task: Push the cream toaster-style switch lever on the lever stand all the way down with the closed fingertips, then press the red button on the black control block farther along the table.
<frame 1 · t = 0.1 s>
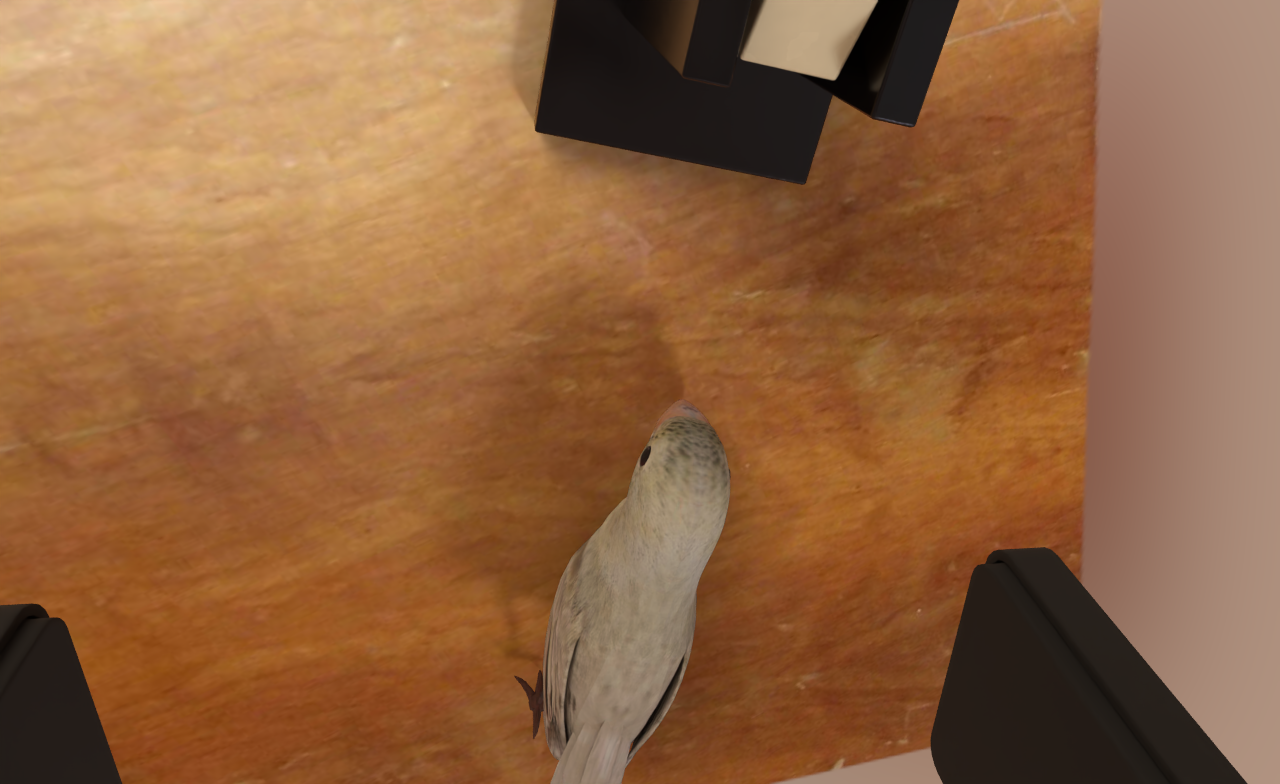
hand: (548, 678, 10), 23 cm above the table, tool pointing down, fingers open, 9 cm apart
decorative bird: (618, 551, 38), on the table
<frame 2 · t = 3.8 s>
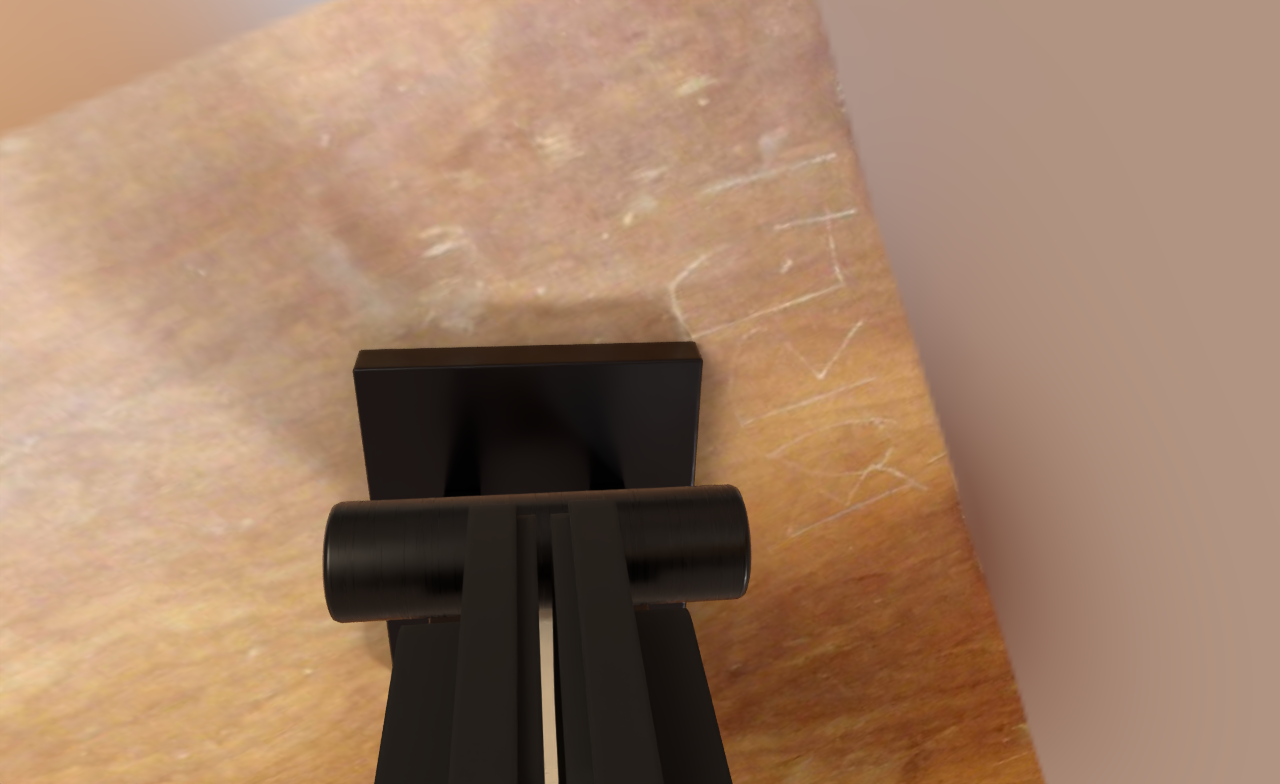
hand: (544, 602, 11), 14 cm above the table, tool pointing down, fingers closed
toaster lever: (545, 726, 15), point 12 cm above the table, hinge at 19.0°, touching gripper
lever stand: (536, 525, 27), on the table
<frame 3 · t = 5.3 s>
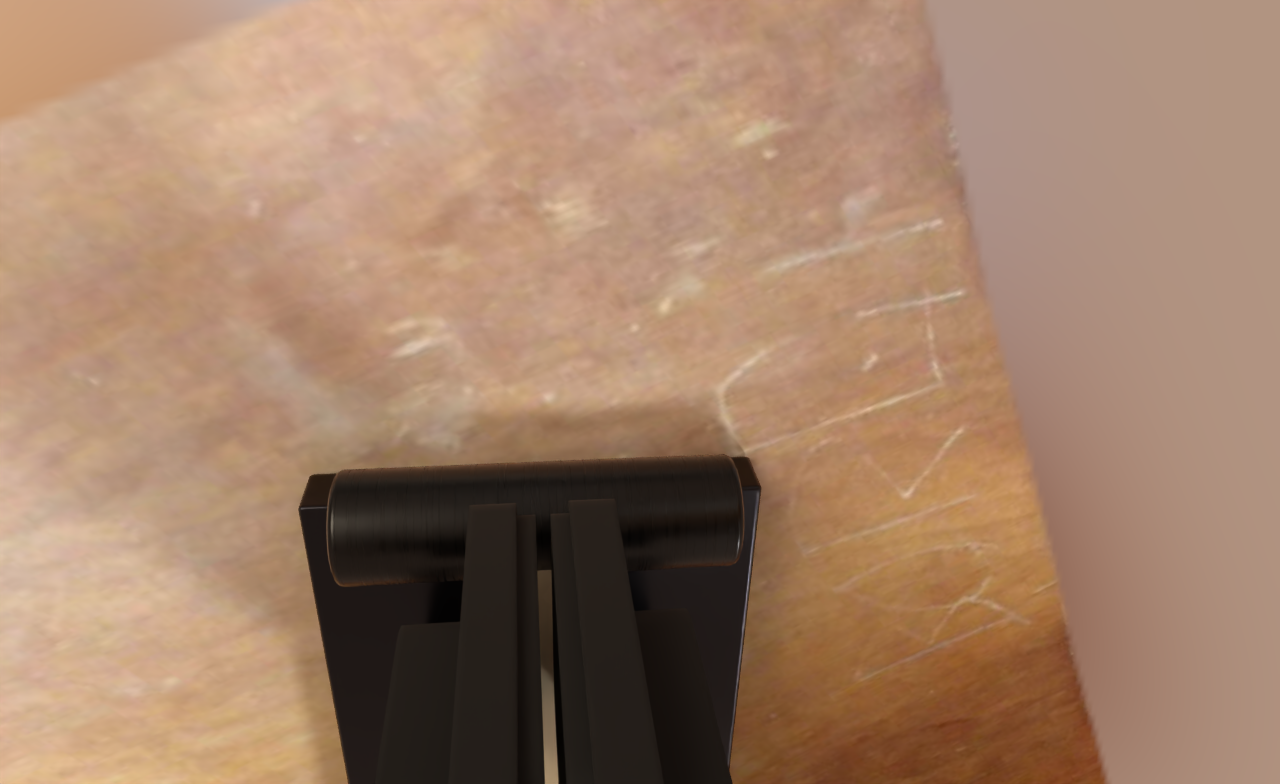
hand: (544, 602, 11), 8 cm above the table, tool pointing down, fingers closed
lever stand: (541, 675, 22), on the table
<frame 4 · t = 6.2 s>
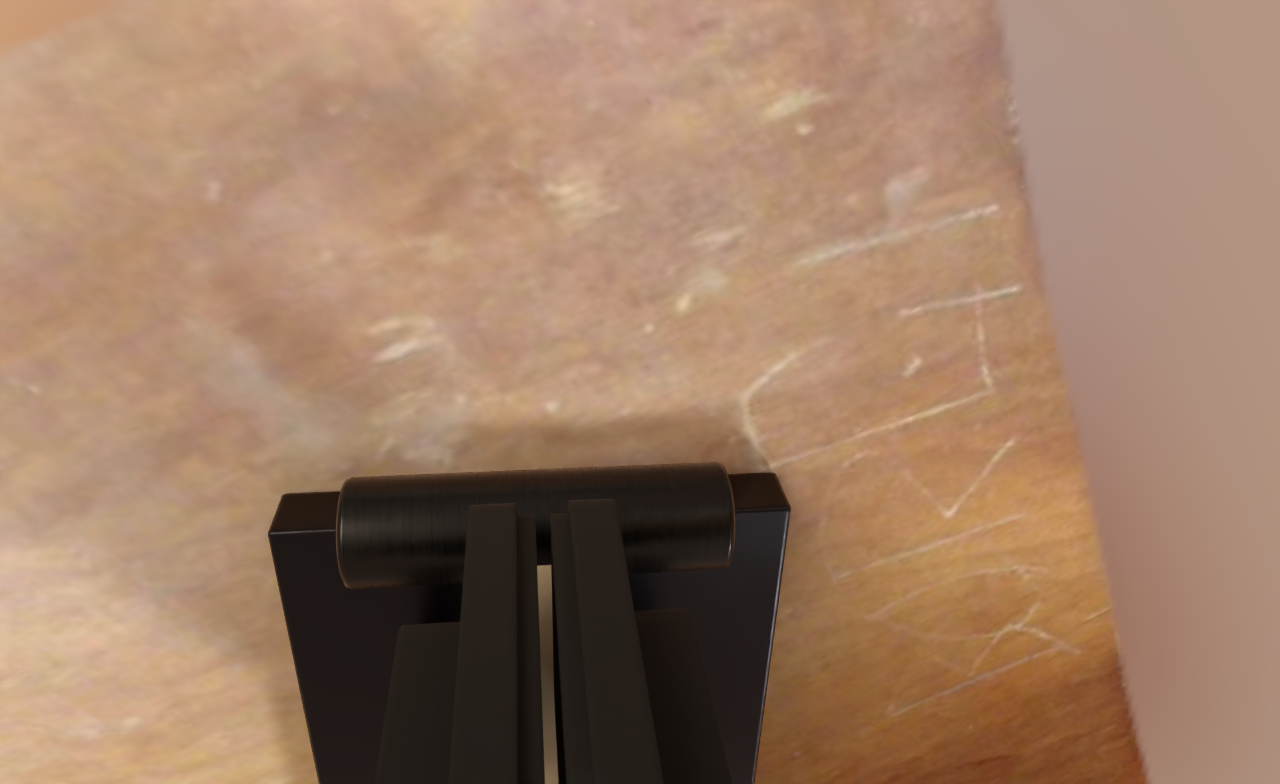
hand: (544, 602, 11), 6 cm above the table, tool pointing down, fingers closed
lever stand: (543, 713, 20), on the table
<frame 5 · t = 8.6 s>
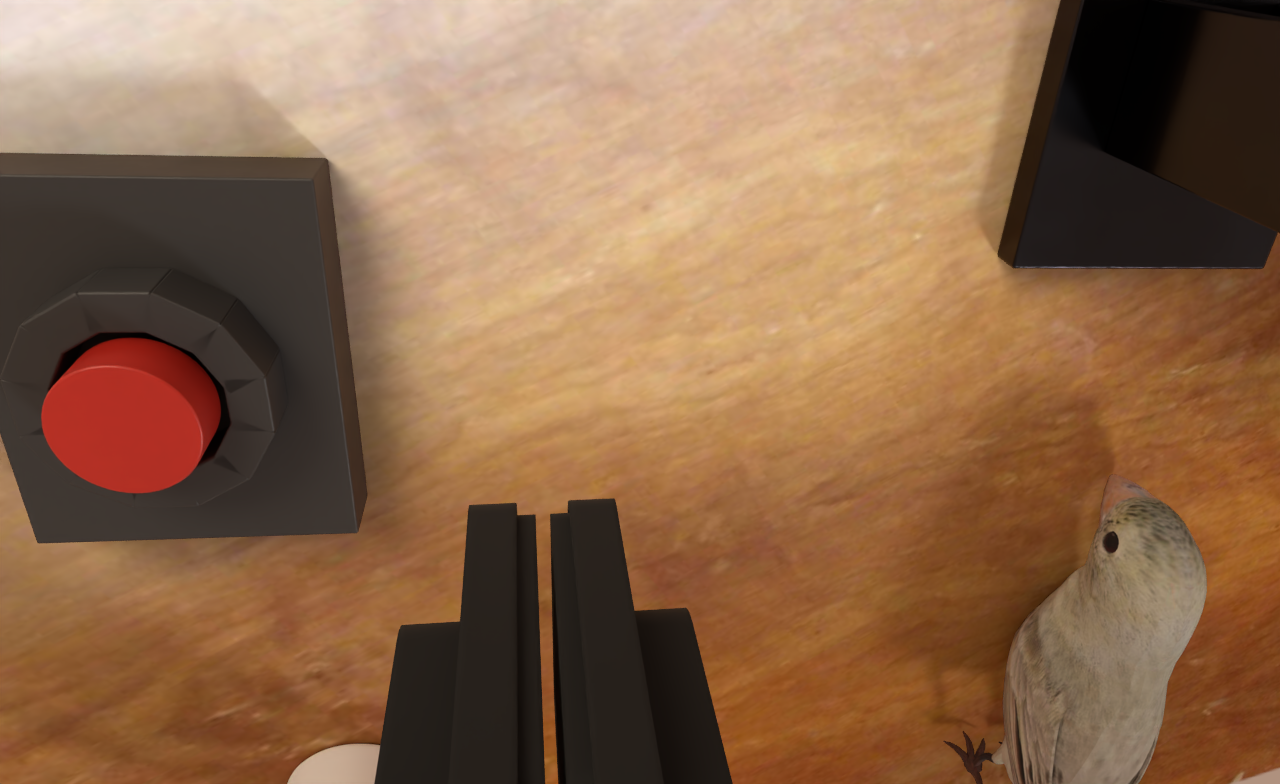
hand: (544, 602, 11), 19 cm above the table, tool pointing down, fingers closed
decorative bird: (1040, 617, 40), on the table
lever stand: (1177, 73, 28), on the table
control block: (186, 344, 29), on the table
red button: (135, 416, 25), point 4 cm above the table, slide at 0.1 cm
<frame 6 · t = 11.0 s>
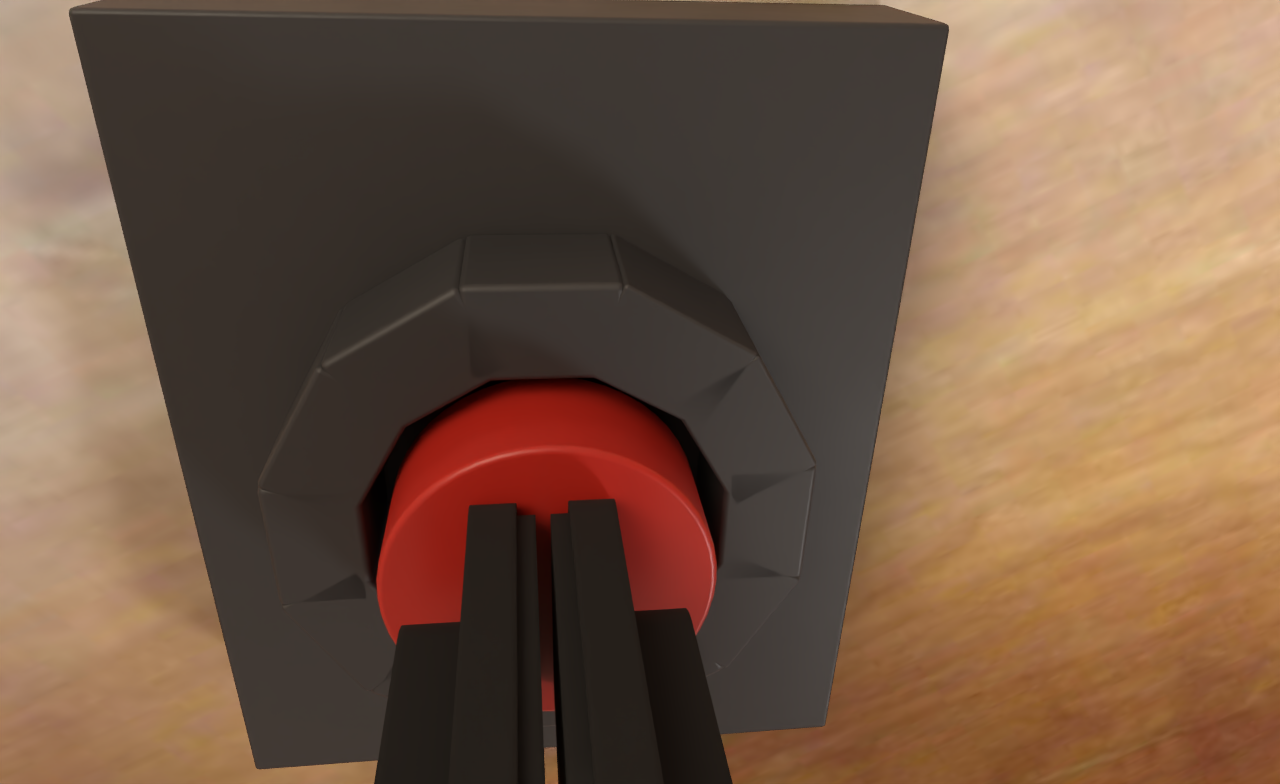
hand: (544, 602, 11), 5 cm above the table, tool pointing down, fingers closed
control block: (540, 389, 15), on the table
red button: (548, 546, 11), point 4 cm above the table, slide at -0.2 cm, touching gripper
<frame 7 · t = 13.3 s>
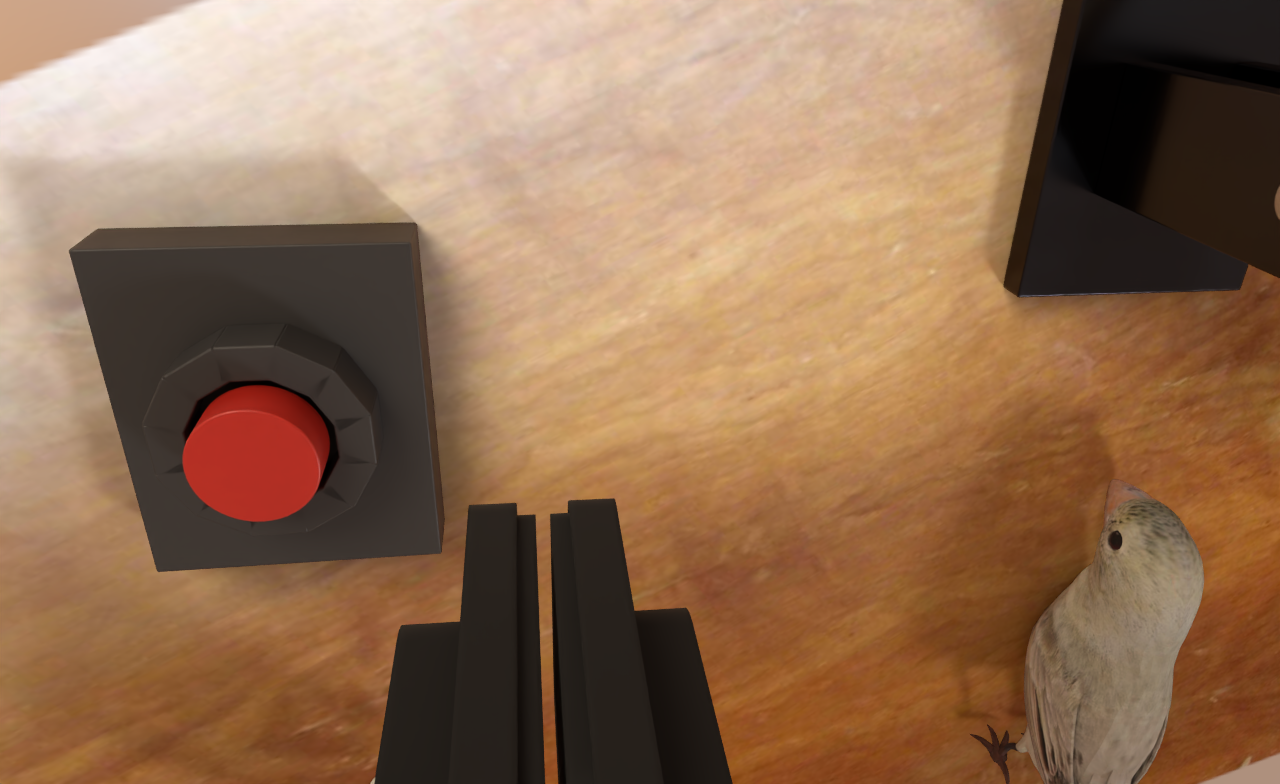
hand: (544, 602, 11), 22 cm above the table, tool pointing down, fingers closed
decorative bird: (1054, 614, 43), on the table
lever stand: (1155, 123, 32), on the table
control block: (288, 389, 32), on the table
red button: (259, 453, 29), point 4 cm above the table, slide at 0.1 cm
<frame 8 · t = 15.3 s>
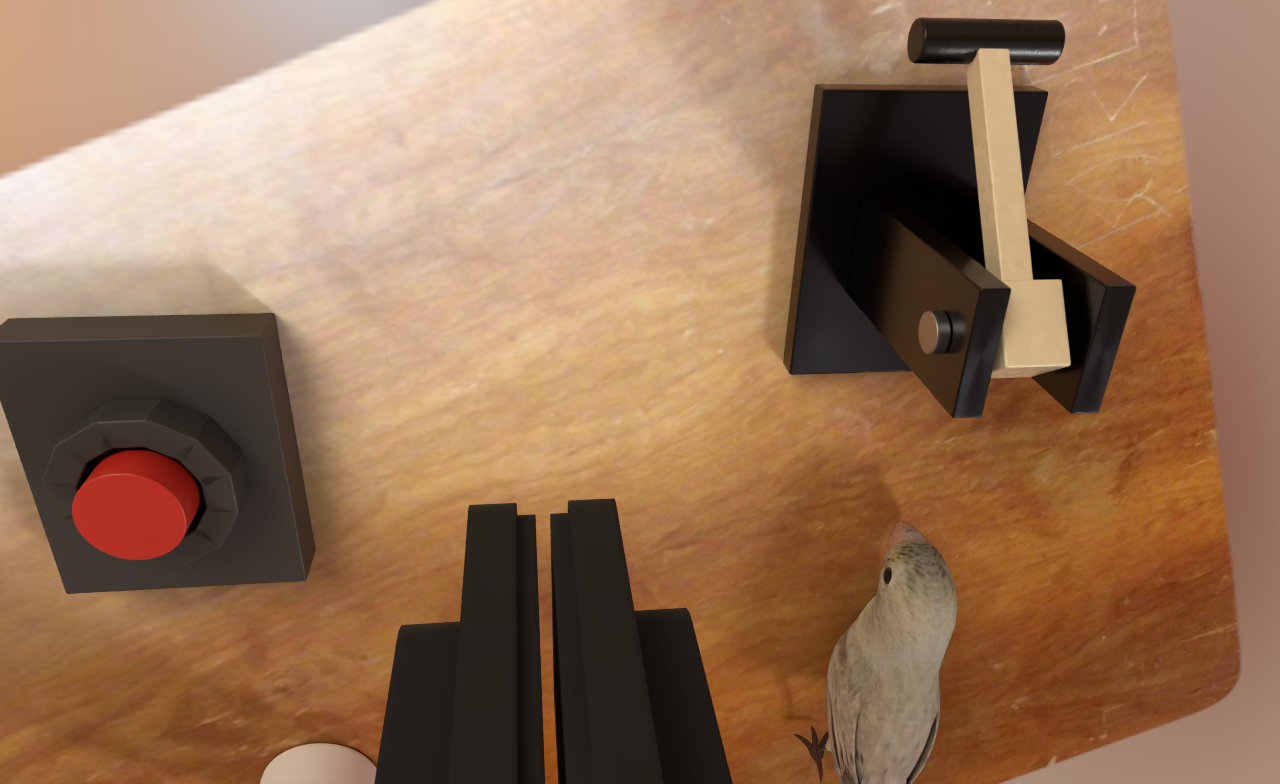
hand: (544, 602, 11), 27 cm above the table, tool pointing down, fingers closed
toaster lever: (1000, 192, 30), point 7 cm above the table, hinge at -35.8°
decorative bird: (861, 632, 49), on the table
lever stand: (900, 232, 38), on the table
control block: (175, 444, 39), on the table
mug: (292, 781, 50), on the table
red button: (137, 505, 35), point 4 cm above the table, slide at 0.1 cm
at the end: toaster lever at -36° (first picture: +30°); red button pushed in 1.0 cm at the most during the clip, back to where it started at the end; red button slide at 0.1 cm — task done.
